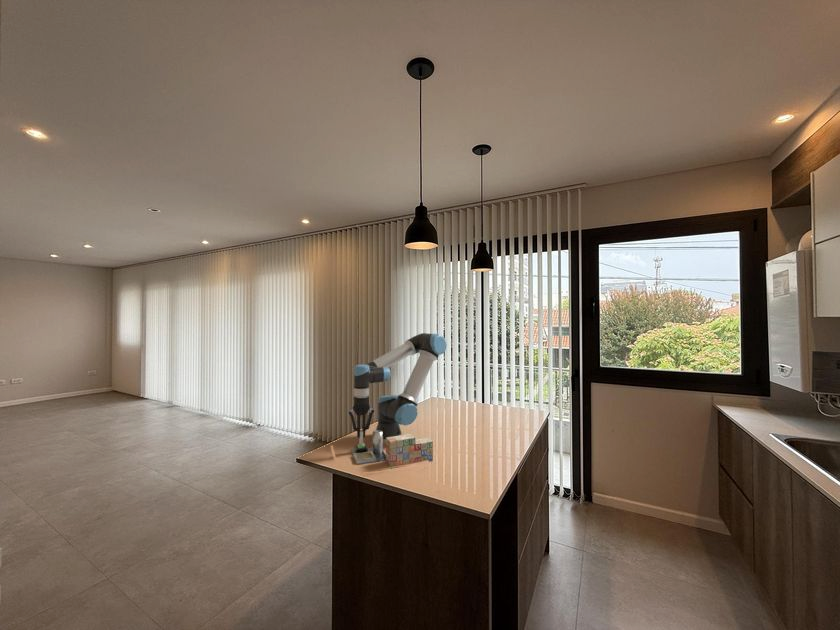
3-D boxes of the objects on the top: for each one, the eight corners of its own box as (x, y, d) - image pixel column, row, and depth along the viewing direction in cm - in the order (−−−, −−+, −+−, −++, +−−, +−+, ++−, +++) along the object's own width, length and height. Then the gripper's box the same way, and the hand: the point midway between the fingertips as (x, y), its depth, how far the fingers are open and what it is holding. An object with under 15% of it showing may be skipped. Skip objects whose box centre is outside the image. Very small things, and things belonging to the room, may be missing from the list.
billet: (381, 449, 170) (381, 429, 170) (383, 453, 166) (383, 432, 166) (371, 450, 169) (371, 430, 169) (373, 454, 164) (373, 433, 164)
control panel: (380, 448, 174) (380, 441, 174) (389, 462, 157) (389, 455, 157) (350, 452, 169) (350, 445, 169) (356, 467, 152) (356, 459, 152)
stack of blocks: (427, 456, 165) (427, 431, 165) (433, 461, 159) (433, 434, 159) (385, 463, 156) (385, 437, 156) (390, 469, 150) (390, 441, 150)
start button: (364, 448, 170) (364, 442, 170) (365, 451, 166) (365, 445, 166) (356, 449, 168) (356, 443, 168) (358, 452, 165) (358, 446, 165)
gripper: (372, 393, 174) (372, 440, 173) (347, 395, 169) (346, 443, 169) (376, 396, 167) (375, 445, 166) (349, 398, 162) (348, 448, 162)
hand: (361, 443), depth 167 cm, fingers closed
